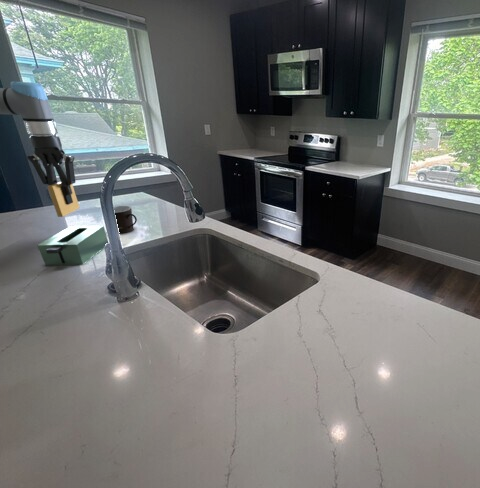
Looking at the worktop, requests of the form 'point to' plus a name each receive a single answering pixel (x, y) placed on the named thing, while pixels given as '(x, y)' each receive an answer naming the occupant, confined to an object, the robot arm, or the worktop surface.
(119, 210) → the coffee mug
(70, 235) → the toaster
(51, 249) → the toaster lever
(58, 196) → the toast
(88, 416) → the worktop surface
